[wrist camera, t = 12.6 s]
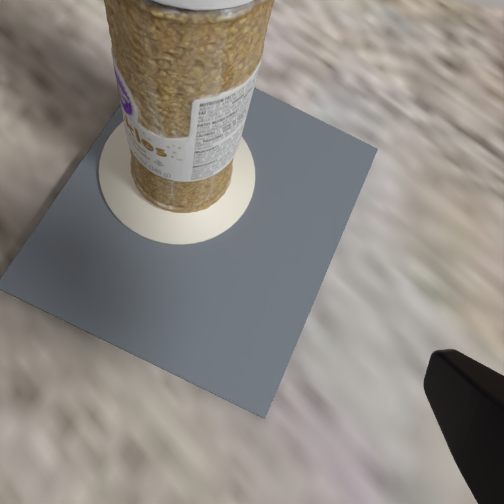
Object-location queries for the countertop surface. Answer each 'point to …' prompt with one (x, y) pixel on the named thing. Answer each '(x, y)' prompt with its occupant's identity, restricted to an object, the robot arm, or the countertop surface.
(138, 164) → the sprinkles bottle
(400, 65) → the countertop surface
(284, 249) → the board
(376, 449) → the countertop surface
